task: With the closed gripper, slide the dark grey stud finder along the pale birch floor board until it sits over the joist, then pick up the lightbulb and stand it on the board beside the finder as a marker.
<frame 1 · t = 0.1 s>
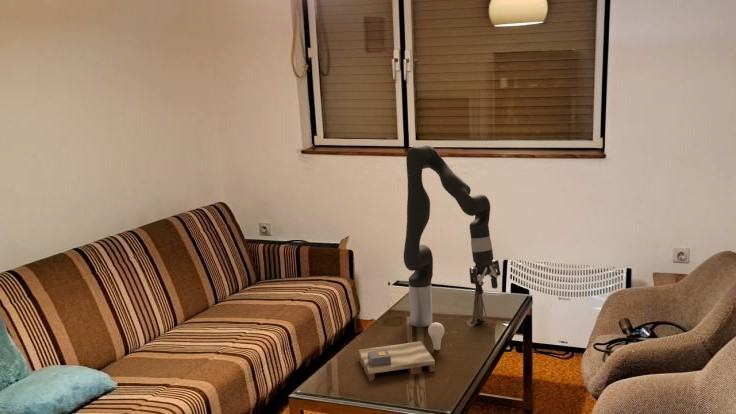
hand: (487, 291, 267), 22 cm above the table, tool pointing down, fingers open, 8 cm apart
stud finder: (379, 357, 254), point 6 cm above the table, slide at -7.0 cm
wizard figurine: (477, 323, 296), on the table
lightbulb: (437, 350, 271), on the table
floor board: (396, 365, 260), on the table
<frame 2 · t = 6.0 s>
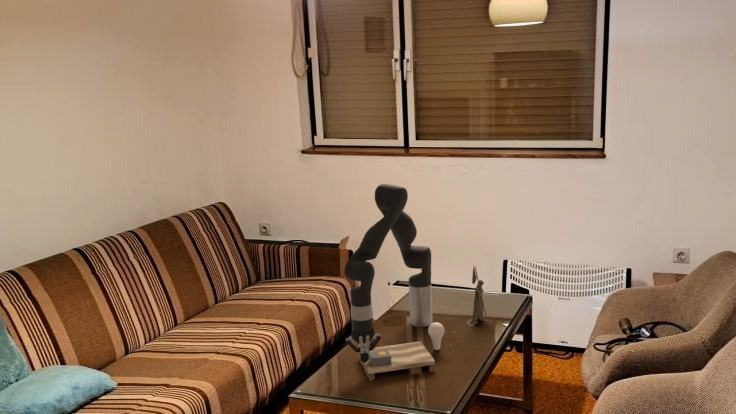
hand: (364, 361, 253), 5 cm above the table, tool pointing down, fingers closed
stud finder: (379, 357, 254), point 6 cm above the table, slide at -6.8 cm, touching gripper
everything else where it was.
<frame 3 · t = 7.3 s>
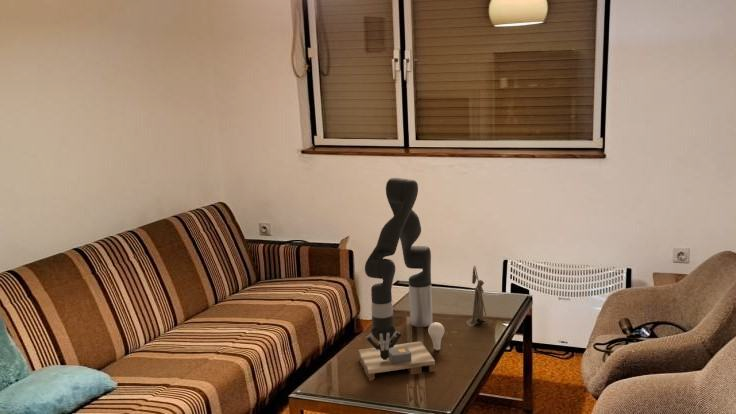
hand: (384, 358, 254), 5 cm above the table, tool pointing down, fingers closed
stud finder: (399, 354, 255), point 6 cm above the table, slide at 0.5 cm, touching gripper
everything else where it was.
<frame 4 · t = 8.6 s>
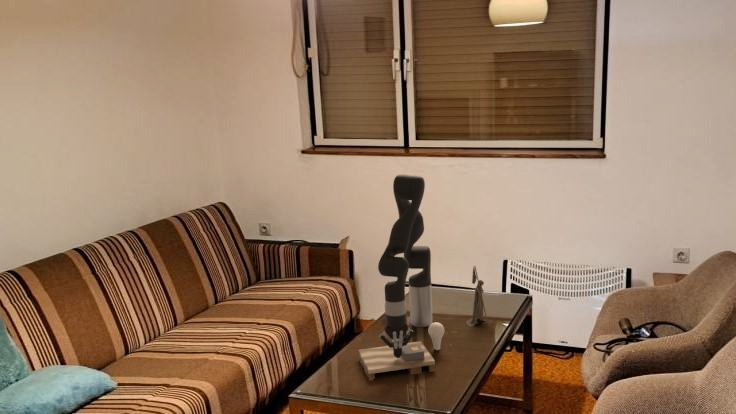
hand: (397, 356, 255), 5 cm above the table, tool pointing down, fingers closed
stud finder: (412, 353, 256), point 6 cm above the table, slide at 5.3 cm, touching gripper
everything else where it was.
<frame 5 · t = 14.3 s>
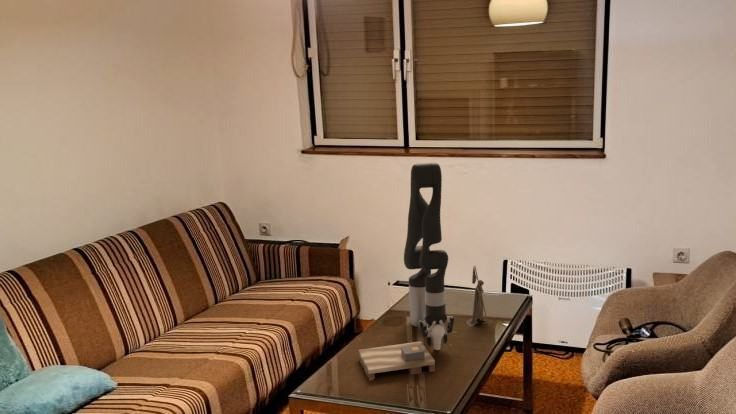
hand: (436, 344, 271), 2 cm above the table, tool pointing down, fingers closed on lightbulb, 5 cm apart
stud finder: (412, 353, 256), point 6 cm above the table, slide at 5.3 cm
lightbulb: (437, 350, 271), on the table, touching gripper
everything else where it was.
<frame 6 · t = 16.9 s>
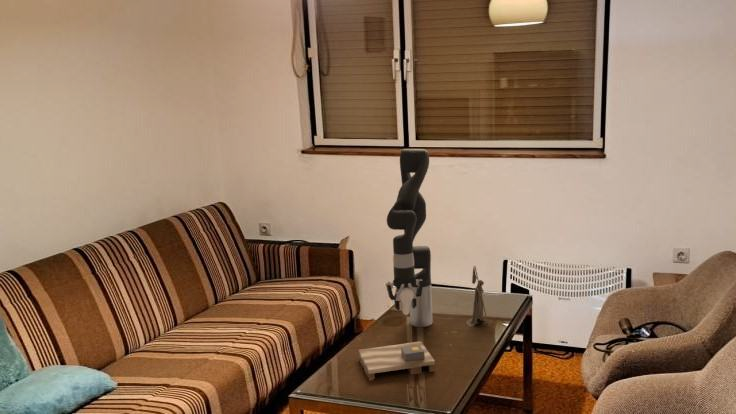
hand: (405, 308, 261), 20 cm above the table, tool pointing down, fingers closed on lightbulb, 5 cm apart
lightbulb: (406, 315, 262), point 17 cm above the table, touching gripper
everything else where it was.
when the fingers open (8 cm above the table, at t = 19.6 s): lightbulb drops 1 cm, resting on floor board.
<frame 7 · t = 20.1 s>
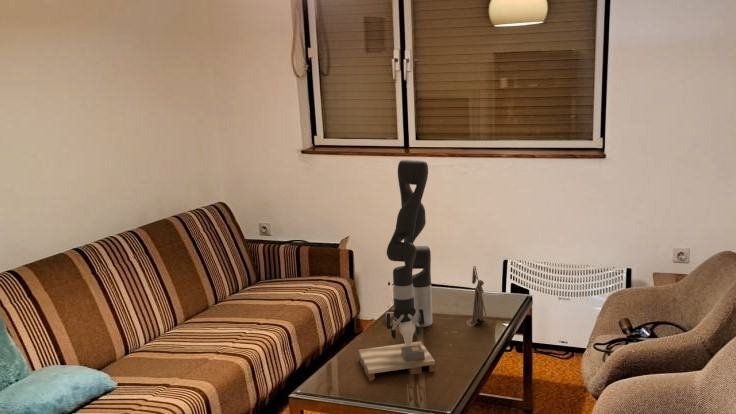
hand: (405, 336, 264), 9 cm above the table, tool pointing down, fingers open, 8 cm apart
lightbulb: (408, 348, 265), point 4 cm above the table, touching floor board, gripper
everything else where it was.
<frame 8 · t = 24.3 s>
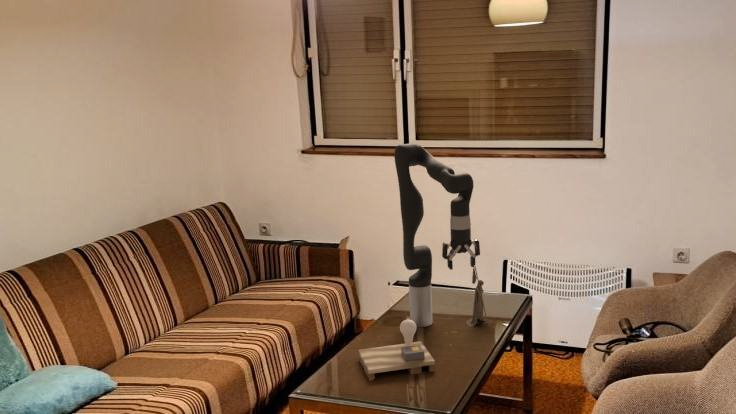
hand: (461, 267, 271), 30 cm above the table, tool pointing down, fingers open, 8 cm apart
lightbulb: (408, 348, 265), point 4 cm above the table, touching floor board
everything else where it was.
at the end: stud finder slide at 5.3 cm; lightbulb inside the target area (1.3 cm from its centre), point 3.8 cm above the table; lightbulb tilted 1° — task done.
